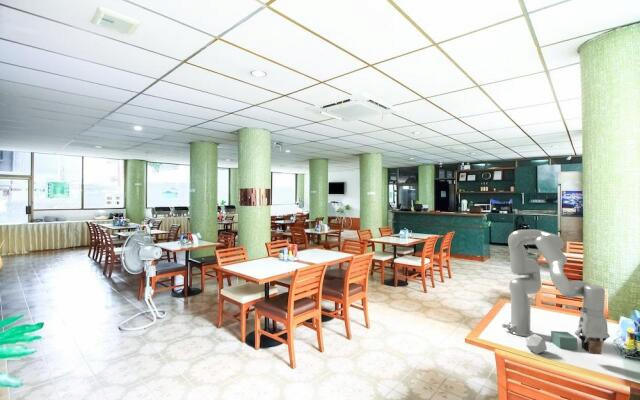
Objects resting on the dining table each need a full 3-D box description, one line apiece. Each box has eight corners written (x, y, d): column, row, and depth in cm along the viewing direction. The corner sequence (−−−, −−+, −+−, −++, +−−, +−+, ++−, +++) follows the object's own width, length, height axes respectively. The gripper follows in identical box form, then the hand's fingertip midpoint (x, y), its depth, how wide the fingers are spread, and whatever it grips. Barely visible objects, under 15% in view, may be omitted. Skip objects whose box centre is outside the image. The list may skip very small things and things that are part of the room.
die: (531, 347, 166) (520, 332, 165) (549, 343, 161) (538, 327, 160) (533, 359, 158) (521, 344, 158) (552, 356, 154) (540, 339, 153)
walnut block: (589, 353, 146) (590, 340, 146) (581, 348, 151) (582, 335, 151) (601, 354, 146) (601, 341, 146) (592, 348, 151) (593, 336, 151)
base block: (559, 348, 163) (560, 337, 163) (551, 341, 171) (551, 330, 171) (577, 350, 162) (577, 338, 162) (567, 343, 170) (567, 332, 170)
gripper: (579, 314, 145) (577, 352, 146) (619, 316, 143) (617, 355, 144) (568, 308, 152) (566, 345, 153) (606, 310, 151) (604, 347, 151)
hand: (591, 349), depth 148 cm, fingers closed on walnut block, 5 cm apart
